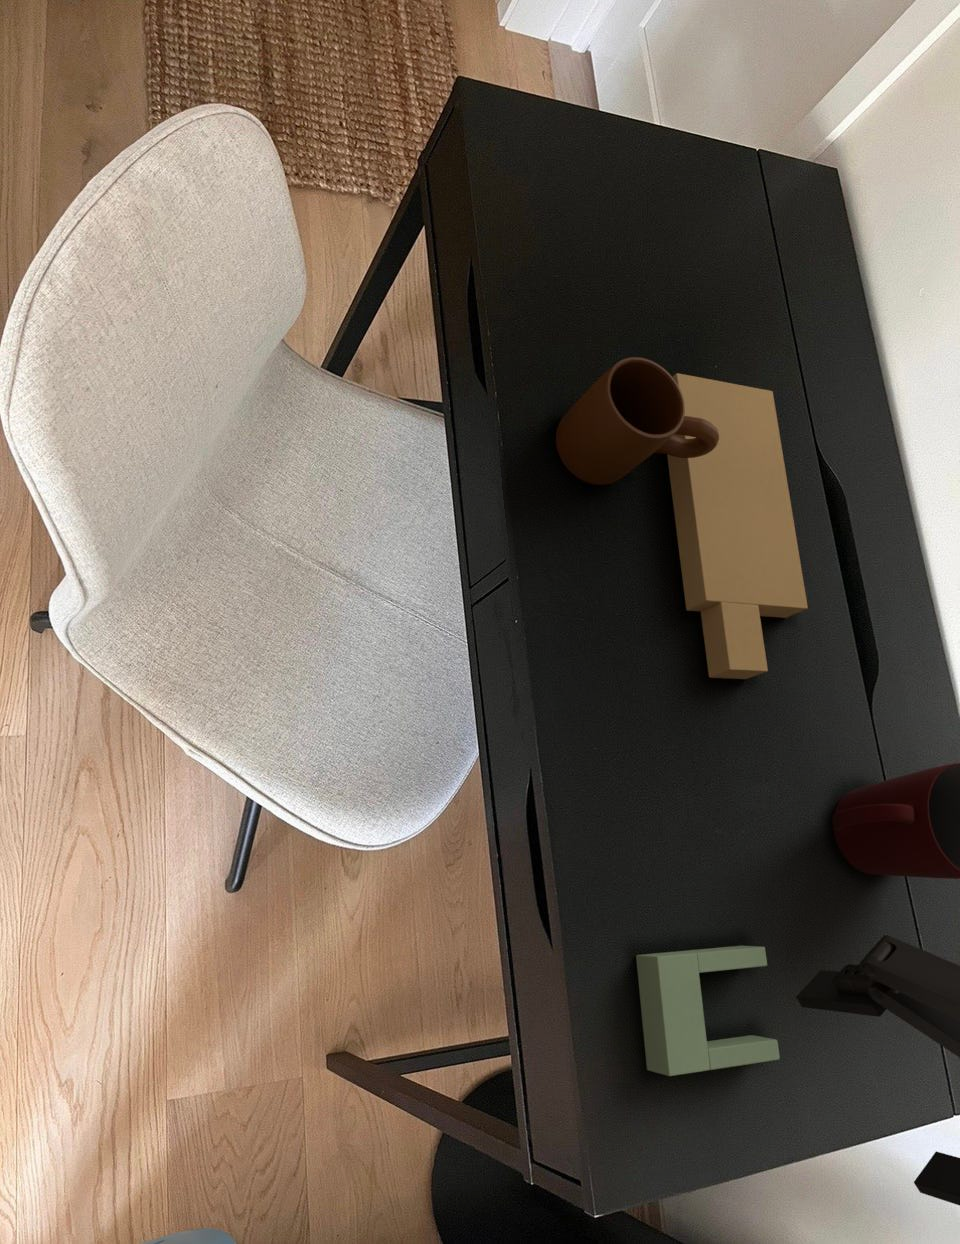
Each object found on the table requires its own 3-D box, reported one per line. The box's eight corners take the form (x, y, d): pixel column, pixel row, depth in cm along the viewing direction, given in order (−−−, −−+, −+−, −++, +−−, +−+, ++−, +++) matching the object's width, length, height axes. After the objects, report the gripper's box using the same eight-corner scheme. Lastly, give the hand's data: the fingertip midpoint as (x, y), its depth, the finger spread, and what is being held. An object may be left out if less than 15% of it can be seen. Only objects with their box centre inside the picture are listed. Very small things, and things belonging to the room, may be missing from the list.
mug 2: (799, 875, 78) (901, 870, 68) (793, 771, 81) (891, 751, 71) (908, 886, 82) (1019, 882, 72) (899, 786, 85) (1005, 770, 75)
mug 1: (672, 445, 86) (735, 395, 78) (663, 516, 83) (728, 472, 75) (559, 398, 83) (612, 340, 74) (546, 470, 80) (599, 419, 72)
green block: (646, 1070, 68) (669, 1076, 65) (635, 955, 70) (657, 956, 68) (754, 1054, 72) (780, 1059, 69) (740, 945, 74) (765, 946, 71)
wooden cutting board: (694, 677, 80) (715, 668, 77) (658, 389, 88) (676, 372, 85) (795, 681, 84) (818, 673, 81) (752, 406, 92) (772, 390, 89)
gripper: (1419, 1333, 42) (1006, 1204, 61) (1110, 862, 43) (797, 878, 62) (1369, 1481, 38) (946, 1296, 57) (1034, 964, 39) (726, 949, 58)
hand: (868, 1079), depth 59 cm, fingers open, 13 cm apart
